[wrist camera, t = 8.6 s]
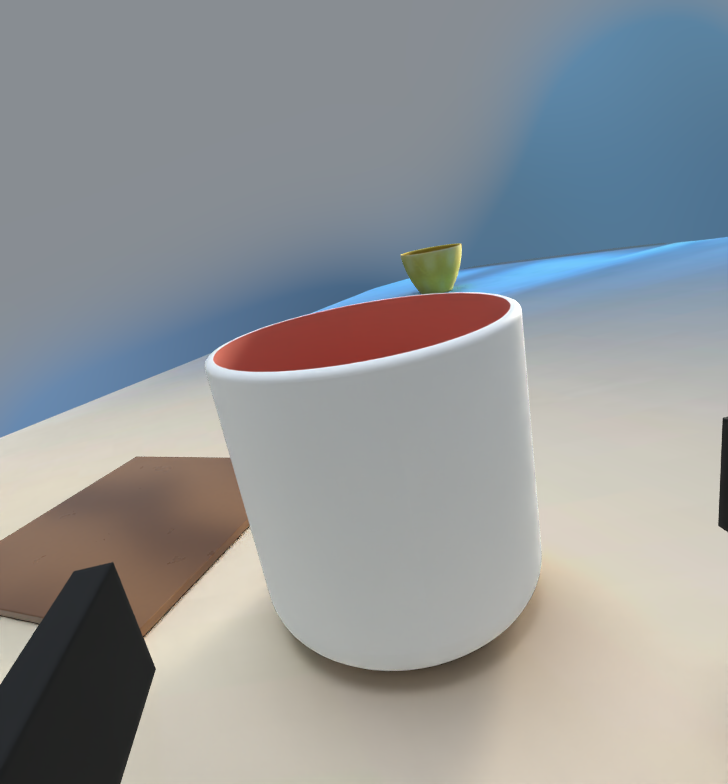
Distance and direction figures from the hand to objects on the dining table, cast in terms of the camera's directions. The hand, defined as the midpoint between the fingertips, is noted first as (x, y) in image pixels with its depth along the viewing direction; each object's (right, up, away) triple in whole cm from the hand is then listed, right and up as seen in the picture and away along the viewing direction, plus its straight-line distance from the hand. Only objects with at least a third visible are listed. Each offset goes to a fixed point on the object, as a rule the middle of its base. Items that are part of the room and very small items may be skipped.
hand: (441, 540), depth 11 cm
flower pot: (+11, +20, +76) cm, 79 cm away
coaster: (-14, -4, +17) cm, 22 cm away
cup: (0, -4, +9) cm, 10 cm away
